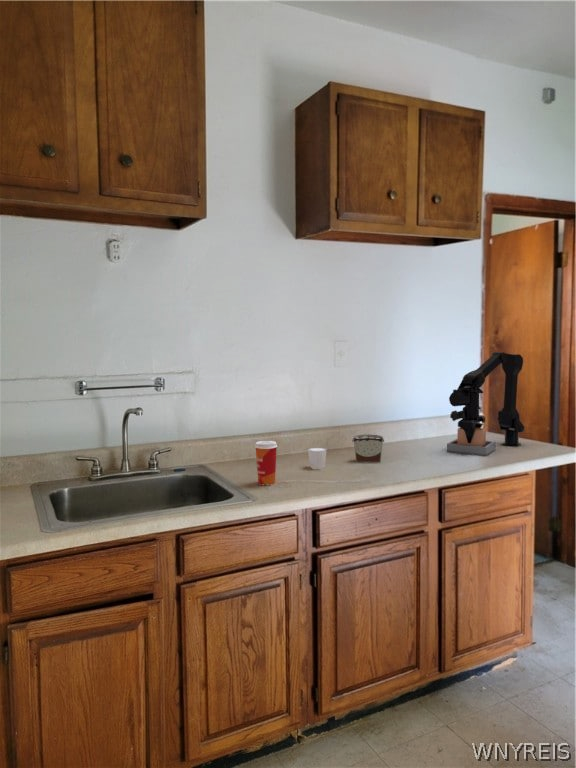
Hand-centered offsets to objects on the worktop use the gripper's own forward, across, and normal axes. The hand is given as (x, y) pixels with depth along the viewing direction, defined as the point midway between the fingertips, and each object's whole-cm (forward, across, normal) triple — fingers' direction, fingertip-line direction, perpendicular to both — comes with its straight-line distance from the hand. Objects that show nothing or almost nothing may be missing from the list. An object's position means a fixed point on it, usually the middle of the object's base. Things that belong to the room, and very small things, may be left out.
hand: (471, 441), depth 240 cm
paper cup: (+4, +86, -43) cm, 96 cm away
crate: (+4, 0, 0) cm, 4 cm away
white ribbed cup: (+4, +58, -40) cm, 71 cm away
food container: (+4, +38, -29) cm, 48 cm away
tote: (+2, 0, 0) cm, 2 cm away
